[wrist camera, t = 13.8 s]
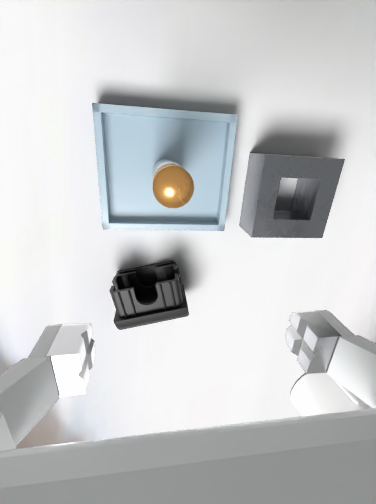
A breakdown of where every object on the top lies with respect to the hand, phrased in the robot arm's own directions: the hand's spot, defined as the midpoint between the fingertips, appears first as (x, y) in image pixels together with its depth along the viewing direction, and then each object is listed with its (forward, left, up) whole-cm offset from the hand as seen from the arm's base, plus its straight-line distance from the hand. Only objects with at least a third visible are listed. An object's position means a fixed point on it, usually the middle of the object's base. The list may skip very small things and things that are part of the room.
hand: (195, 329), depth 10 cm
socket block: (-16, -1, -26) cm, 31 cm away
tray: (0, -3, -26) cm, 26 cm away
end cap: (+2, +14, -26) cm, 30 cm away
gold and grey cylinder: (0, -3, -25) cm, 25 cm away
